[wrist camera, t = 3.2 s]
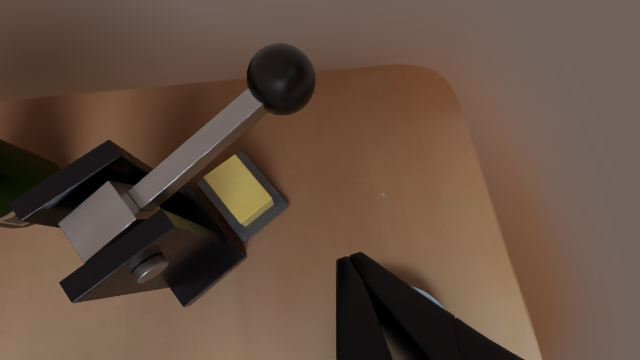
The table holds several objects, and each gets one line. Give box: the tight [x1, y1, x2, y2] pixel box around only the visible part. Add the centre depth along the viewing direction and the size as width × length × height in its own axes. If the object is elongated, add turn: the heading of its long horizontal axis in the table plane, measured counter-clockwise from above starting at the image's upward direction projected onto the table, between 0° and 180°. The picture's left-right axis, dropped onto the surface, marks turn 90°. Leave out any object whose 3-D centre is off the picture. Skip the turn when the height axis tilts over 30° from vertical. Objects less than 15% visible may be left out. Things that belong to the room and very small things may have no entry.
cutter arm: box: [58, 43, 315, 263], centre depth 14 cm, size 13×3×3 cm, turn 131°
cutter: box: [9, 140, 246, 307], centre depth 17 cm, size 5×8×11 cm, turn 41°
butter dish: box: [196, 150, 289, 243], centre depth 22 cm, size 4×6×2 cm
